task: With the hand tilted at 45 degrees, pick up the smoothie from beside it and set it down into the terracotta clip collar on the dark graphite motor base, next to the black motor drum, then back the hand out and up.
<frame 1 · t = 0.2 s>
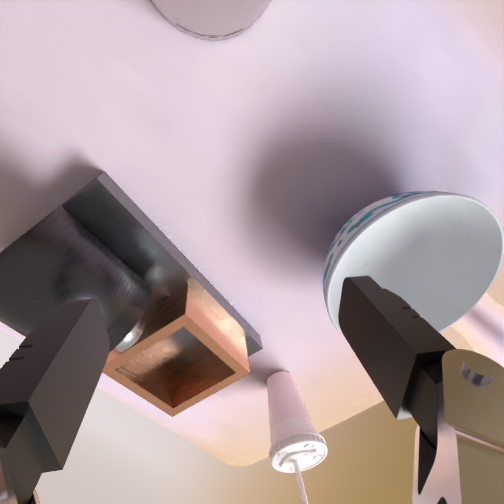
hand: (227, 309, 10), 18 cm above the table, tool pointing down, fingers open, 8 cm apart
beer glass: (456, 299, 37), on the table
smoothie: (279, 379, 40), on the table
chinaware: (368, 240, 31), on the table
motor mount: (151, 299, 30), on the table
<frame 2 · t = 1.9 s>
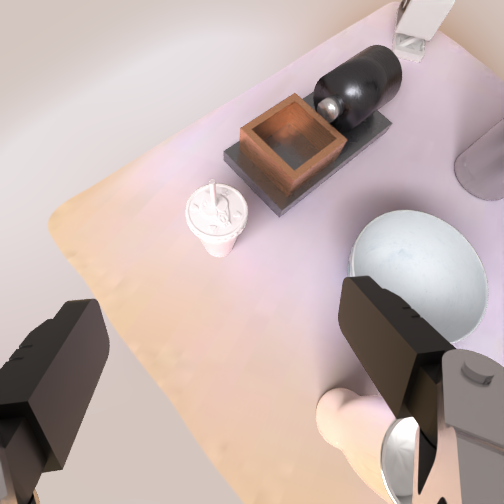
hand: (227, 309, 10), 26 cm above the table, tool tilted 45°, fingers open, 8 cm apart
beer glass: (341, 416, 33), on the table
smoothie: (219, 244, 38), on the table
chinaware: (383, 288, 38), on the table
security camera: (401, 49, 54), on the table
motor mount: (308, 145, 45), on the table
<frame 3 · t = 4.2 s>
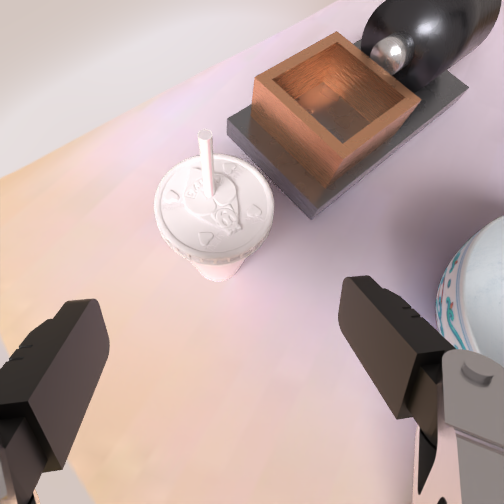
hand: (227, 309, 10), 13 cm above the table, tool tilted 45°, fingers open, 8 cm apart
smoothie: (218, 260, 24), on the table
chinaware: (475, 333, 24), on the table
motor mount: (349, 117, 31), on the table
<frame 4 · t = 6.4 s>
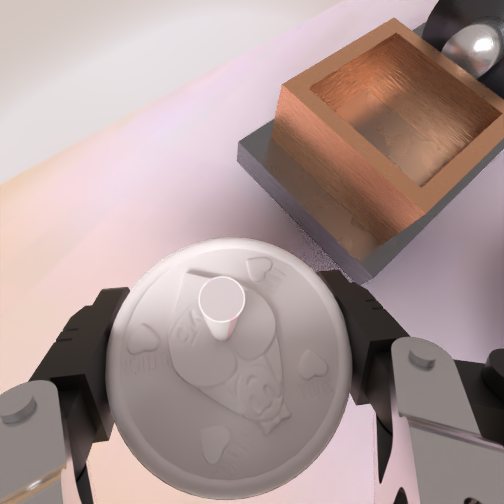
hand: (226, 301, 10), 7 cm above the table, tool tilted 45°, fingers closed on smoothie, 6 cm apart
smoothie: (227, 354, 17), on the table, touching gripper
motor mount: (399, 135, 23), on the table
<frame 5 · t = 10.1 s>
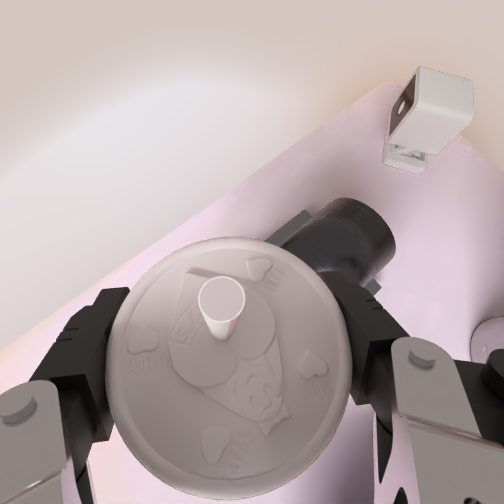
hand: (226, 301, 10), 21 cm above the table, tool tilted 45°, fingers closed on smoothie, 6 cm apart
smoothie: (227, 354, 17), point 13 cm above the table, touching gripper
security camera: (396, 153, 41), on the table
motor mount: (260, 320, 31), on the table
when the fingers open (11 cm above the table, at t = 13.6 s): smoothie drops 1 cm, resting on motor mount.
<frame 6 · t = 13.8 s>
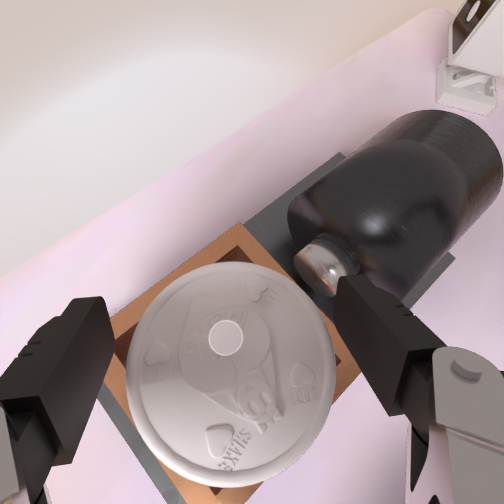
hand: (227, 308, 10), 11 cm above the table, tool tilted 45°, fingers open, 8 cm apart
smoothie: (228, 357, 18), point 2 cm above the table, touching motor mount
security camera: (452, 90, 31), on the table
motor mount: (279, 306, 21), on the table
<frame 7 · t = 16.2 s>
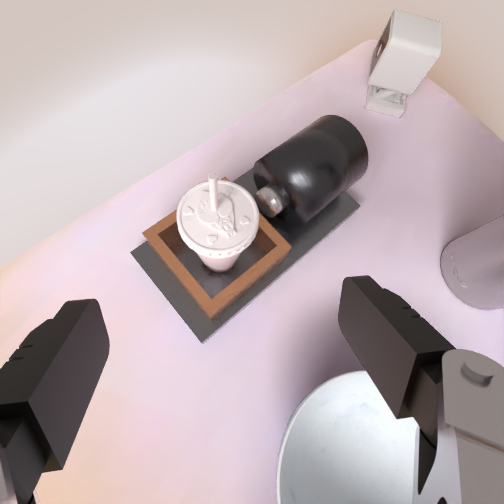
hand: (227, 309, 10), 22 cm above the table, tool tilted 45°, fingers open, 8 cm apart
smoothie: (219, 256, 31), point 2 cm above the table, touching motor mount
chinaware: (339, 450, 28), on the table
security camera: (378, 100, 44), on the table
motor mount: (251, 234, 34), on the table
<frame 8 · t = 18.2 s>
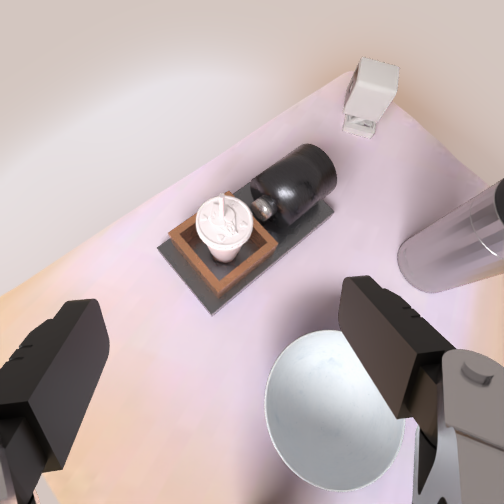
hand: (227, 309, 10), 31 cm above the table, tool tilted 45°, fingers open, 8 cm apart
smoothie: (224, 250, 41), point 2 cm above the table, touching motor mount
chinaware: (313, 394, 37), on the table
security camera: (354, 123, 54), on the table
motor mount: (249, 234, 44), on the table
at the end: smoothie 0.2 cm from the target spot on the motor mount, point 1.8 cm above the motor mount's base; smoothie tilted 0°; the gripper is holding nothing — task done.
